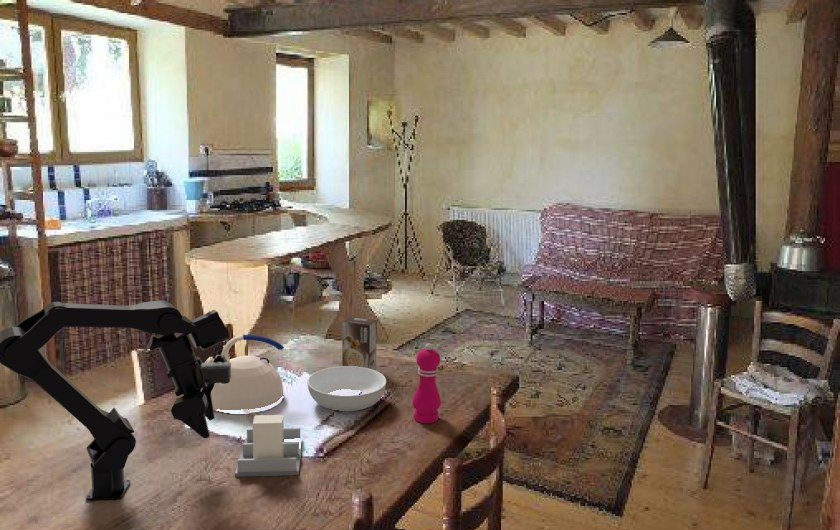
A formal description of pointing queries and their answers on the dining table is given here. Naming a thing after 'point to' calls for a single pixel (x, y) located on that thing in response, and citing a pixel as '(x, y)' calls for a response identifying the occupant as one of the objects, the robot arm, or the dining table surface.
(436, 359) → the pepper mill
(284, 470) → the plate rack
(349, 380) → the serving bowl
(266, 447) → the cream upright block
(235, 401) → the kettle
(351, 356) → the coffee box
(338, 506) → the dining table surface
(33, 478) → the dining table surface
